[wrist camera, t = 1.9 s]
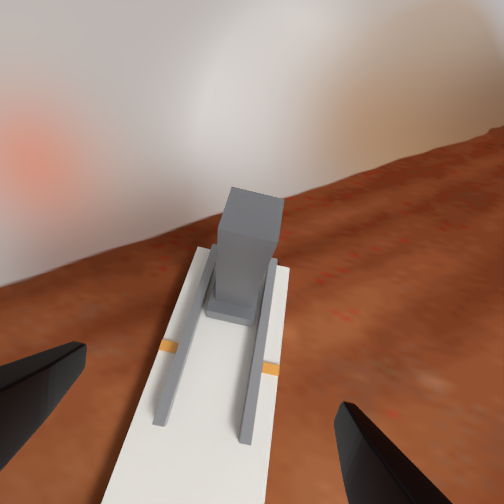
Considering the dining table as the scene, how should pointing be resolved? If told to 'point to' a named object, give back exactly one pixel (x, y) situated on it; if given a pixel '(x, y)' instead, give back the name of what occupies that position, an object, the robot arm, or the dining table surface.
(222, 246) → the fader tab
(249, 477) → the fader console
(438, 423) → the dining table surface
